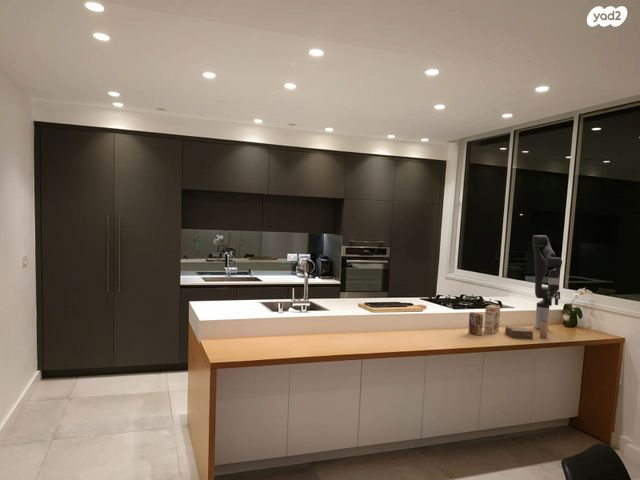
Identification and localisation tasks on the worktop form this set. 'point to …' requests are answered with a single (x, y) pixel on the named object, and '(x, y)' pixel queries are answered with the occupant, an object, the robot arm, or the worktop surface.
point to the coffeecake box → (492, 319)
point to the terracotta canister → (543, 328)
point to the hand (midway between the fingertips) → (553, 305)
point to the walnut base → (519, 332)
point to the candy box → (475, 323)
